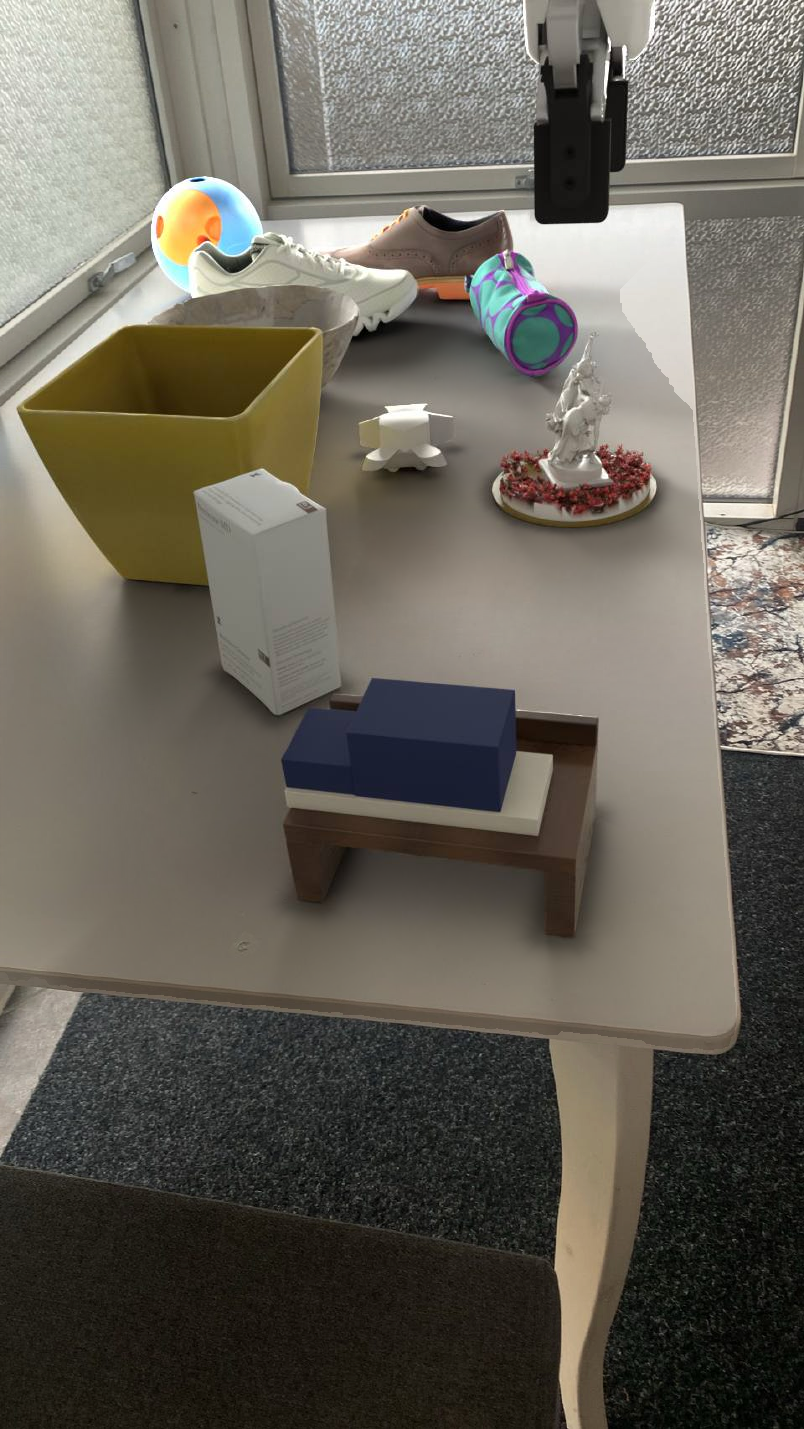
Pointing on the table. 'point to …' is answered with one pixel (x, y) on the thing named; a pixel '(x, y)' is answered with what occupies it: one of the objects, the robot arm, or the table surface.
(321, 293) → the ceramic bowl
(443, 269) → the oxford shoe
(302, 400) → the flower pot
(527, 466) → the figurine
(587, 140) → the robot arm
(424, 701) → the navy stepped block
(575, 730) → the shelf
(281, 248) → the running shoe
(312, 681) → the cosmetic box
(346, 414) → the table surface
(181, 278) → the treat dispenser ball
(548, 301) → the pencil case
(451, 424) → the white boxy flared piece
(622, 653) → the table surface
